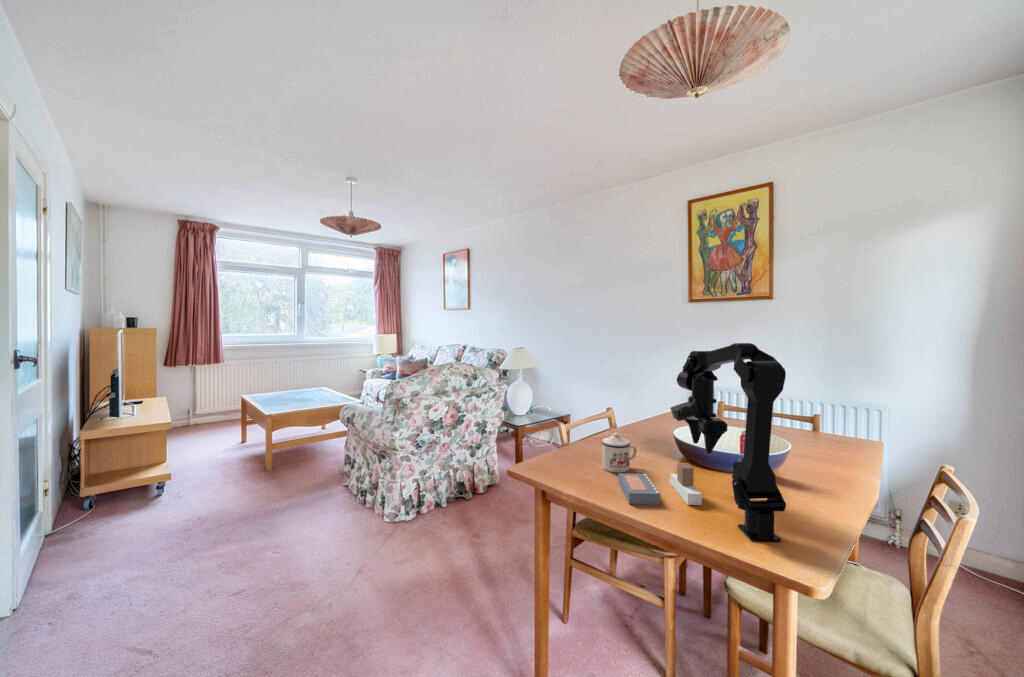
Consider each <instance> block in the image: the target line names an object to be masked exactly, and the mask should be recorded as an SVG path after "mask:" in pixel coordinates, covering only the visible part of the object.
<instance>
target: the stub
mask: <svg viewBox="0 0 1024 677" xmlns="http://www.w3.org/2000/svg"><path fill="white" fill-rule="evenodd" d="M676 465H677V470H676V471H677V473H670V474H669V475H670V479H669V480H670V482H669V483H670V485H671V486H672V488H673V489H674V490H675V491H676V492H677V494H678V495H679V496H680V498H682V500H683V501H684V502H685V504H686V505H687V506H688V505H689V506H703V500H702V499H703V495H702V494H703V493H702V492H701V491H700V490H699V489H698V488H697V487H696V486H695V485H694V476H695V475H694V474H695V473H694V469H695V468H694V467H693V466H692V465H691V464H690V463H688V462H677V464H676Z"/></svg>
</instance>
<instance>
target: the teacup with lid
mask: <svg viewBox="0 0 1024 677" xmlns="http://www.w3.org/2000/svg"><path fill="white" fill-rule="evenodd" d="M601 444H602V468H603V469H604V471H608V472H610V473H617V474H619V473H625V472H628V471H629V470H630V461H632V460H634V459H635V458H636V456H637V452H638V450H637V447H636V446H635V445H633V444H631V442H630V440H628V439H627V438H624V437H622V436H620V433H618V432H614V433H612V435H610V436H608V437H605V438H603V439H602V441H601ZM630 449H633V453H632V455H631V454H630V452H631V450H630ZM630 455H631V456H630Z"/></svg>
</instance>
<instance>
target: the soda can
mask: <svg viewBox="0 0 1024 677" xmlns="http://www.w3.org/2000/svg"><path fill="white" fill-rule="evenodd" d="M745 431H746V430H743V431H741V434H740V437H739V455H740V454H744V445H745Z"/></svg>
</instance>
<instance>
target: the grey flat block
mask: <svg viewBox="0 0 1024 677" xmlns="http://www.w3.org/2000/svg"><path fill="white" fill-rule="evenodd" d="M618 485H619V486H620V488H621V491H622V493H623V494H624V497H625V498H626V501H627V502H628V504H629V505H643V506H644V505H646V506H647V505H648V506H650V505H652V506H660V505H661V494H660V493H661V492H659V491H658V489H657V487H656V486H655V485H654V483H653V481H651V479H650V478H649V477H648V475H647V474H646V473H625V472H622V473H618Z"/></svg>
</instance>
